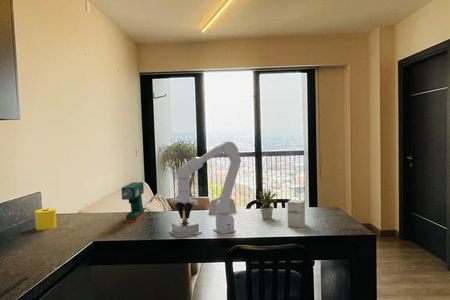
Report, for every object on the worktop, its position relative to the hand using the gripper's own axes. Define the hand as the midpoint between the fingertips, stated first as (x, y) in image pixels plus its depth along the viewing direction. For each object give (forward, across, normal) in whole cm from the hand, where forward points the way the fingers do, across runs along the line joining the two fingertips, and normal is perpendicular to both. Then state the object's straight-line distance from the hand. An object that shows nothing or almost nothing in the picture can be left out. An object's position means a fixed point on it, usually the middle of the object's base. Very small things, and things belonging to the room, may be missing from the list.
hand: (184, 218), depth 170 cm
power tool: (+7, +41, -10) cm, 43 cm away
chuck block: (+7, 0, 0) cm, 7 cm away
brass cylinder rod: (+2, 0, 0) cm, 3 cm away
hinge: (+8, +2, -46) cm, 46 cm away
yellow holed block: (+8, +78, +16) cm, 80 cm away
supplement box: (+7, -48, -30) cm, 57 cm away
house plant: (+7, -30, -39) cm, 50 cm away
